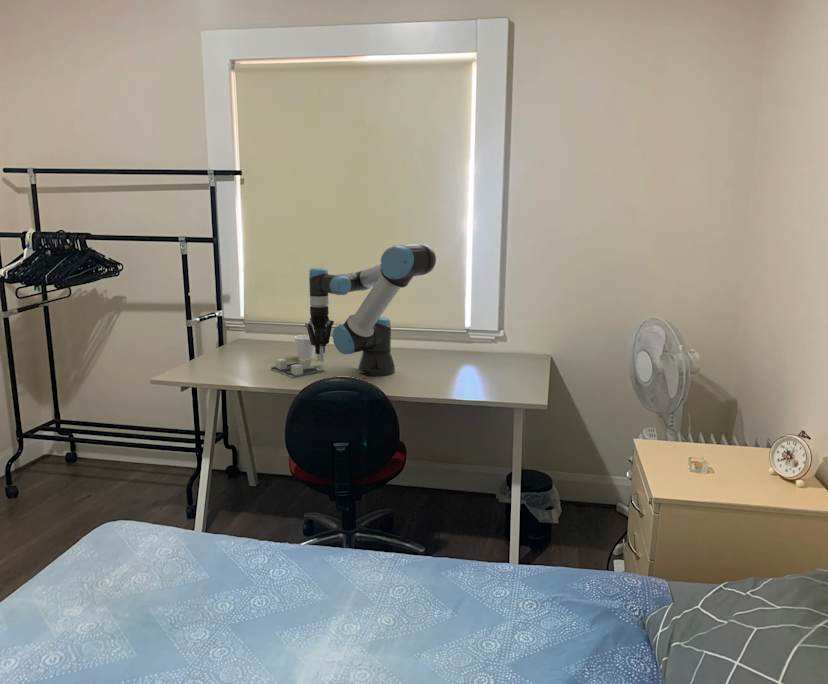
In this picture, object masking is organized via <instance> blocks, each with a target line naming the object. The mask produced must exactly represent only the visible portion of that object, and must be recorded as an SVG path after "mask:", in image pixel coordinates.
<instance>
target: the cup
mask: <svg viewBox="0 0 828 684" xmlns="http://www.w3.org/2000/svg"><path fill="white" fill-rule="evenodd" d="M293 338H294V341H295V347H296V351H297V356H298V357H297V358H298V360H299V359H301V358H305V359H308V360H310V361H311V360H314V358H315V346H314V345H311V342H310V338H309V334H298V335H295V336H294V337H293Z"/></svg>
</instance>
